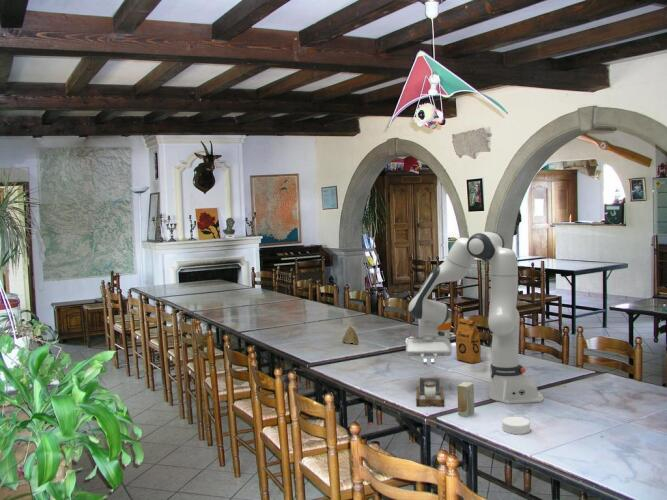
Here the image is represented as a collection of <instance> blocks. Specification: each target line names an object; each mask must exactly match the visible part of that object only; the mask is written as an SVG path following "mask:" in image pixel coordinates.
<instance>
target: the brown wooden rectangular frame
mask: <svg viewBox="0 0 667 500" xmlns="http://www.w3.org/2000/svg"><path fill="white" fill-rule="evenodd" d="M439 392H440V394H439V396H440V398H436V399H425V398H420V395H421V394H420V386H416V394H415V396H416V397H415V399H416V400H415V402H416V403H415V404H416V407H426V406H429V407H430V406H434V407H436V406H438V407H443V408H444V407H445V395H444V387H443V386H439Z"/></svg>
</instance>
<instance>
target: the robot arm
mask: <svg viewBox="0 0 667 500" xmlns="http://www.w3.org/2000/svg"><path fill="white" fill-rule="evenodd" d="M505 244H506V243H505V239H504V237H503V236H502V235H501V234H500V233H498V232H496V231H481V232H478V233H477V232H476V233H475V234H473V235H471V236H470V237H469V238H468V237H459V238H458V239H456V240H455V242H454V243H453V245H452V246H451V248H450V249H449V252H448V253H447V256H446V258H445V259H444V261H443V262H442V263H441V264H440V265H438V266H435V267H434V268H433V269H432V270H431V271H430V273H429V274H428V275H427V277H426V278H425V280H424V282H423V283H422V285H420V288H419V289H418V291H417V292H416V294H415V295H414V296H413V297H412V298H411V300H410V301H409V304H408V308H407V311H408V313H409V315H410V317H411V318H413V319H414V320H415V319H416V320H417V321H418V322H417V324H418V332H417V333H418V334H417V335H418V336H408V337H407V338H405V341H404V342H405V343H404V344H405V354H406V356H407V357H420V359H421V360H422V362H423V363H422V364H423V365H427V363H428V362H427V358H425V357H433V358H431V359H430V362H431V365H435V363H436V360H437V359H438V357H451V355H452V352H453V351H452V344H451V341H450V339H449V337H448V334H447V333H446V332H442V331H439V330H437V327H438V326H441V325H442V324H444V323H445V322H446V321H447V320H448V318H449V312H450V309H449V307H448V305H447V304H446V303H444V302H440V301H437V300H433V299H428V298H429V296H430V295H431V292H433V290H434V288H435V287H436V286H437V285H439V284H441V283H443V284H444V283H448V282H449V283H450V282H458V281H461V280H463V279H464V278H465V277H466V276H467V274H468V272H469V270H470V268H471V266H472V264H473V261H474V260H475V259H478V260H481V261H483V262H489V263H490V264H489V265H490V297H489V307H488V319H487V320H488V321H487V322H488V329H489V331H490V332H492V338H491V345H490V346H491V349H490V350H491V363H490V370H489V371H490V377H491V378H490V379H491V381H490V388H489V391H488V392H489V393H488V395H487V396H488V398H489V399H491V400H492V401H496V402H502V403H504V404H506V405H507V404H508V405H509V404H511V405H512V404H526V403H527V404H529V403H541V402H543V401H544V395H543V394H542V392H540V391H538V386H537V384H536V382H535V381H534V379H531V378H530V377H529V376H527V374H525V372H526V371H527V370H526V367H524V366H523V365H522V364H519V342H520V337H519V336H520V312H519V310H518V309H517V303H518V294H519V290H518V289H519V269H518V266H519V265H518V260H517V259H518V258H517V255H516V252H515V251H514V250H512V249H511V248H506V247H505Z"/></svg>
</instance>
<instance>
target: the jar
mask: <svg viewBox="0 0 667 500" xmlns="http://www.w3.org/2000/svg"><path fill="white" fill-rule="evenodd" d="M435 386H436V383H435V382H432V381H427V382H424V387H425V394H424V399H437V396H436V395H437V394H436V387H435Z"/></svg>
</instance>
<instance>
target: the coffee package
mask: <svg viewBox="0 0 667 500" xmlns="http://www.w3.org/2000/svg"><path fill="white" fill-rule="evenodd" d="M458 322H459V323H458V326H457V329H456V332H455V348H456V349H455V350H456V360H459V361H463V362H466V363H469V364H477V363H481V362H482V356H481V352H482V351H481V349H482V347H481V339H480V333H479V330H478V327H477V324H476V322H475V320H472V319H466V318H459V319H458Z"/></svg>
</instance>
